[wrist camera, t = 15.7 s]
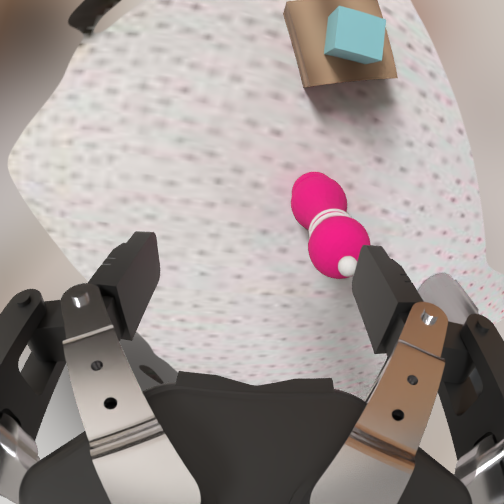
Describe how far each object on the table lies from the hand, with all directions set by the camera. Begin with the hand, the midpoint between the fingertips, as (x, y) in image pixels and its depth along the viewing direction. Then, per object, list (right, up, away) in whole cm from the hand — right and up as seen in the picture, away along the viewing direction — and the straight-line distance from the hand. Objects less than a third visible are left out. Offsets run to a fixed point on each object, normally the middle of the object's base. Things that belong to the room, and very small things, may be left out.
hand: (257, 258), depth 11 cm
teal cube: (+10, +24, +14) cm, 30 cm away
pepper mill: (+9, +9, +30) cm, 32 cm away
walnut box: (+10, +27, +19) cm, 35 cm away
